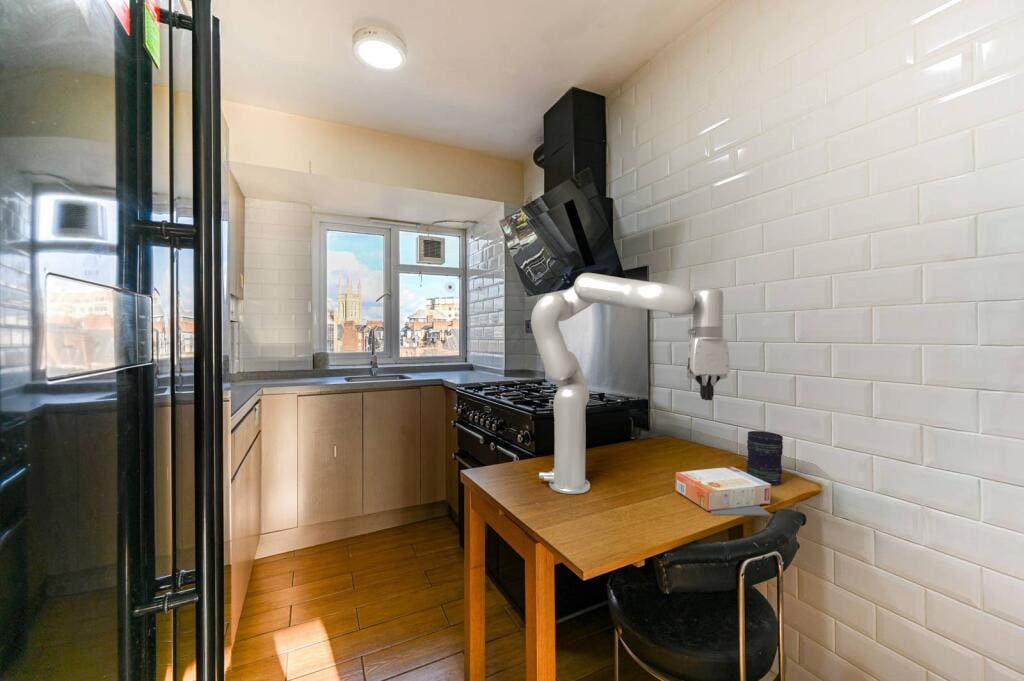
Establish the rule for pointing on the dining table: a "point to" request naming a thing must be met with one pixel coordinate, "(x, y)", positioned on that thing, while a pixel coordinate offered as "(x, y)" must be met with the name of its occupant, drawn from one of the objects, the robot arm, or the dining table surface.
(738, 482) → the cracker box
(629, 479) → the dining table surface
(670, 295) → the robot arm
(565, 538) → the dining table surface
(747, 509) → the mat
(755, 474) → the storage jar
